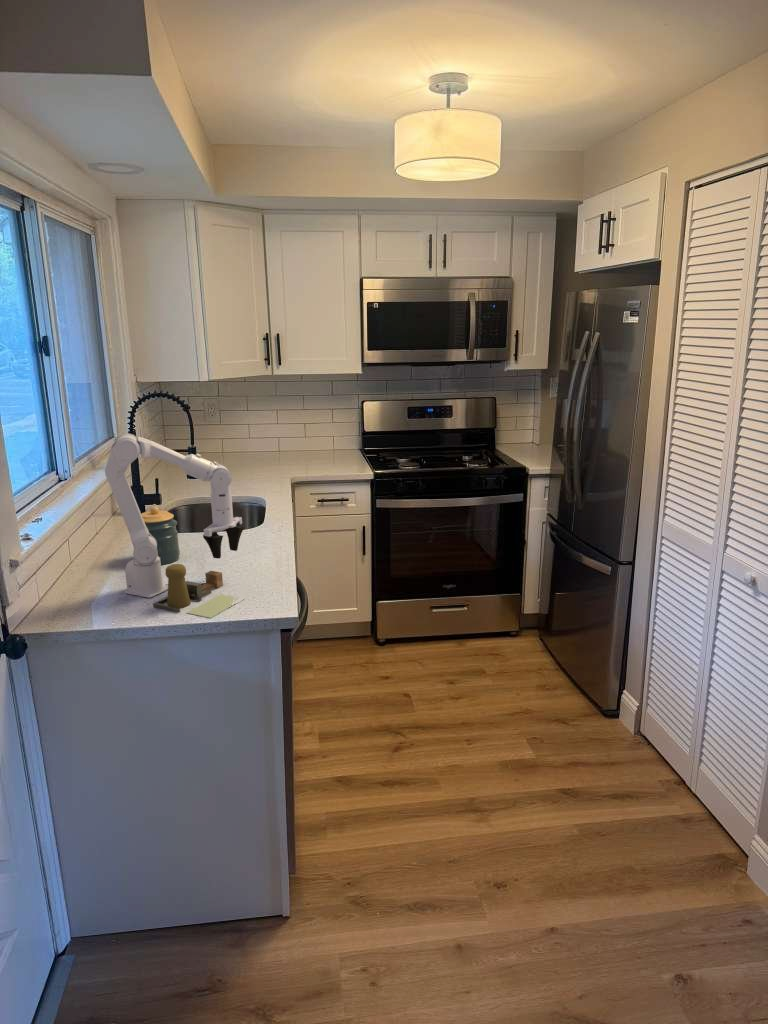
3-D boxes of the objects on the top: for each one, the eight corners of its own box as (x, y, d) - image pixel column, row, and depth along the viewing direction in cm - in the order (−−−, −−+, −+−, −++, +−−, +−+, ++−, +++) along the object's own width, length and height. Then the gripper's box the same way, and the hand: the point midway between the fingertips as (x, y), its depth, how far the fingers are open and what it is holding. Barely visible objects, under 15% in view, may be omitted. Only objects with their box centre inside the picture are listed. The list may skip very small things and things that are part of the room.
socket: (153, 607, 178) (151, 593, 177) (191, 589, 192) (190, 575, 191) (178, 612, 175) (176, 598, 174) (215, 593, 188) (214, 579, 187)
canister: (167, 567, 210) (162, 512, 206) (129, 565, 213) (123, 510, 208) (187, 554, 222) (182, 502, 218) (151, 552, 225) (146, 500, 220)
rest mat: (186, 613, 175) (186, 612, 175) (220, 594, 187) (220, 594, 187) (211, 618, 171) (211, 617, 171) (244, 599, 184) (244, 598, 183)
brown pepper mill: (193, 599, 184) (189, 561, 181) (187, 608, 178) (183, 568, 175) (170, 600, 183) (166, 561, 181) (164, 609, 178) (160, 569, 175)
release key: (192, 592, 188) (191, 579, 187) (211, 583, 195) (210, 570, 194) (204, 595, 187) (203, 581, 186) (222, 585, 194) (222, 572, 193)
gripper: (216, 515, 183) (220, 563, 187) (249, 503, 196) (252, 548, 199) (196, 513, 186) (200, 560, 190) (229, 501, 199) (232, 545, 202)
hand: (225, 554), depth 195 cm, fingers open, 7 cm apart
